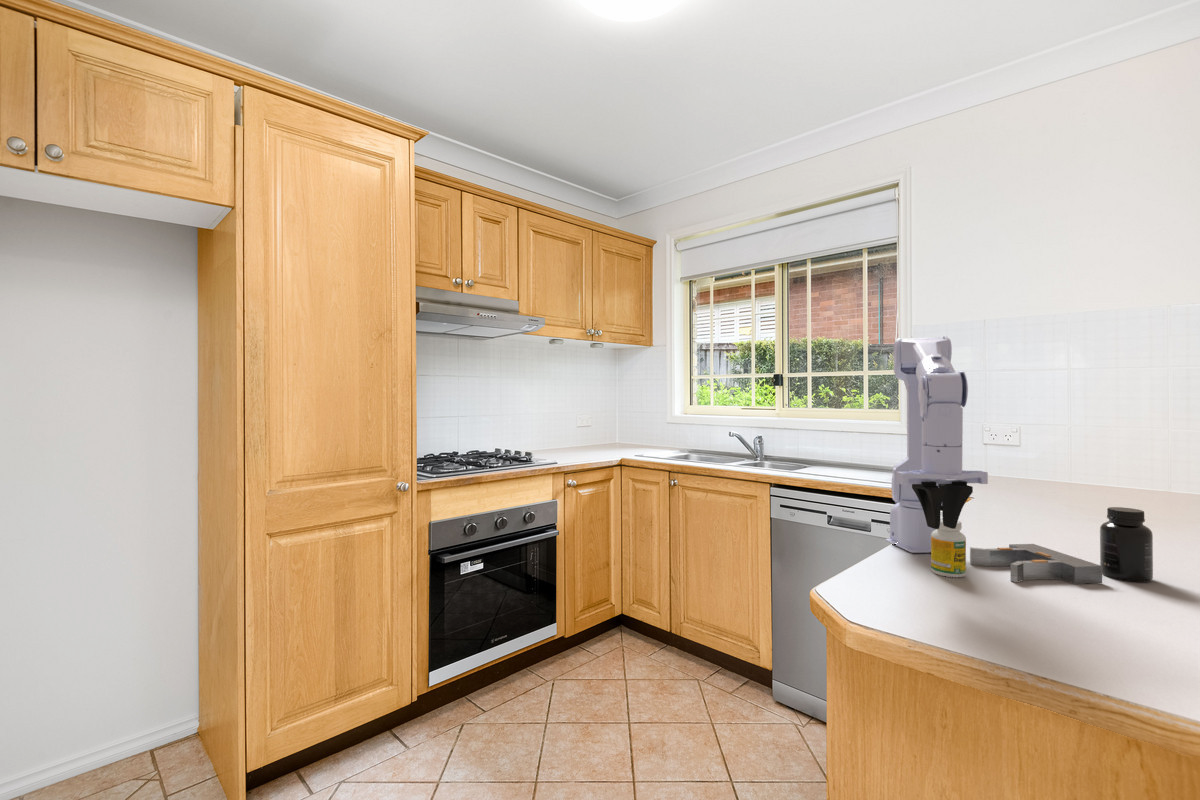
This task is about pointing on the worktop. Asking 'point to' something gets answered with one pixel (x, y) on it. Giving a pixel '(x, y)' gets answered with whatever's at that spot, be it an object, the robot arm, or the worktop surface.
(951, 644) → the worktop surface
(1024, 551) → the grey pronged bracket
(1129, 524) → the supplement bottle
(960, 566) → the supplement bottle
